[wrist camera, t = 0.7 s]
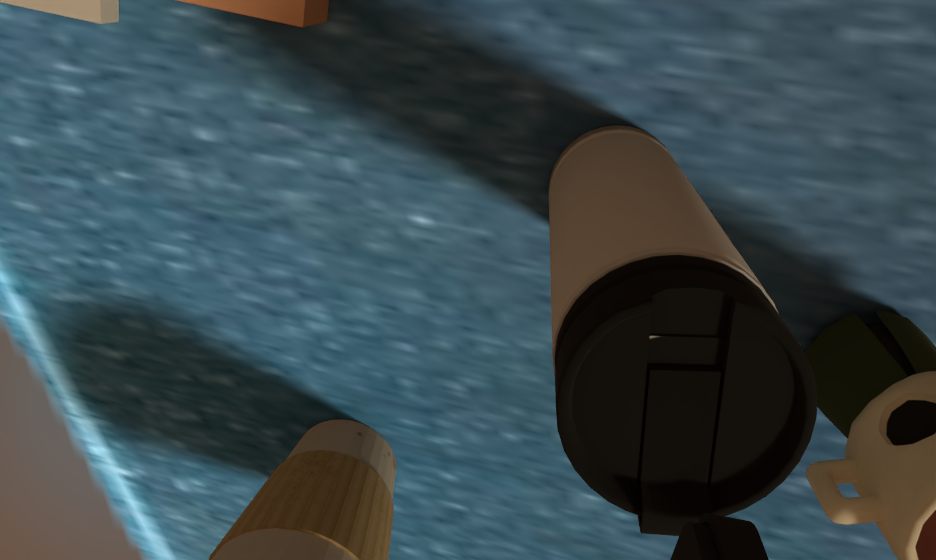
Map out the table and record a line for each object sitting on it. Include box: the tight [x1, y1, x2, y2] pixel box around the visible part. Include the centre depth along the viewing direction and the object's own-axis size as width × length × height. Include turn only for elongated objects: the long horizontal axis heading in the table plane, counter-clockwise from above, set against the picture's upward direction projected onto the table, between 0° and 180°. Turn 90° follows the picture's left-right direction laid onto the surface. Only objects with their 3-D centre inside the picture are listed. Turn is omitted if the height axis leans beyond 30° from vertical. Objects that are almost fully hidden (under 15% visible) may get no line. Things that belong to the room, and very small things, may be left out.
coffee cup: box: [209, 419, 396, 560], centre depth 36 cm, size 10×10×15 cm
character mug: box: [806, 311, 936, 560], centre depth 31 cm, size 11×7×13 cm, turn 102°
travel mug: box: [549, 125, 817, 536], centre depth 26 cm, size 6×7×20 cm
